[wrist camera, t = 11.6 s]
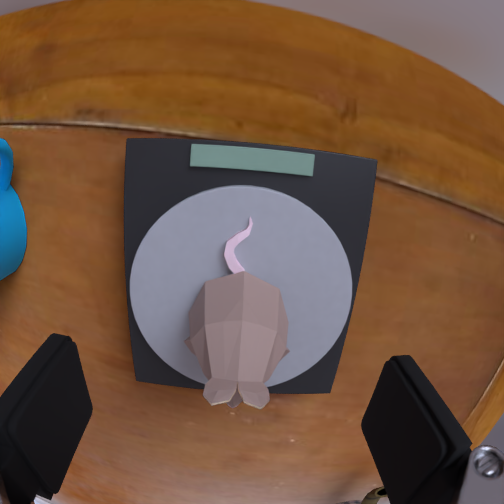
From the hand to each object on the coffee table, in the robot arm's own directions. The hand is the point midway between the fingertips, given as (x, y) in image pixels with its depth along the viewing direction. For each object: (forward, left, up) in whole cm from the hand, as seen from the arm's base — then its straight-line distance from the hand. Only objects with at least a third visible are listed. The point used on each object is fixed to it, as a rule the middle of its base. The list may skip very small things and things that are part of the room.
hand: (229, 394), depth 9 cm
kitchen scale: (0, 0, -11) cm, 11 cm away
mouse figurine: (0, 0, -8) cm, 8 cm away
